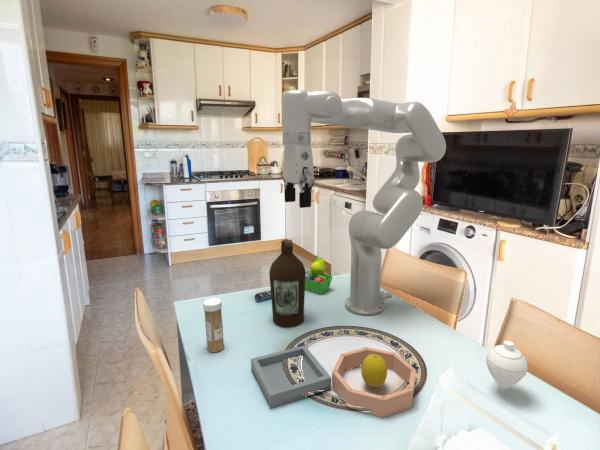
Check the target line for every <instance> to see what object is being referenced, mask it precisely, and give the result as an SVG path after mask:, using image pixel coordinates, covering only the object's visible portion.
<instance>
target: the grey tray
mask: <svg viewBox="0 0 600 450" xmlns="http://www.w3.org/2000/svg"><path fill="white" fill-rule="evenodd" d="M300 355H302V356H303V358H302V359H303V360H302V370H303V373H304V377H305V378H304V379H305V380H306V381H304V382H300V383H298V384H294V385H292V384H291V383H290V381H289V380H288V378H287V377H286V374H285V372H284V370H283V366H282V361H283V359H287V358H291V357H296V356H300ZM250 367H251V368H250V369H251V370H250V371H251V372H252V374H253V375H254V378H255V380H256V382H257V384H258V386H259V389H260V390H261V392H262V394H263V396H264V398H265V401H266V403H267V404H268V407H269V408H270V409H273V408H276V407H279V406H283V405H286V404H290V403H293V402H296V401H300V400H302V399H305V398H307V397H305V395H303V393H306V392H311V391H316V390H324V391H325V392H327V390H328V391H331V390H332V376H331V375H330V374H329V373H328V371H326V369H325V368H324V367H323V365H322V364H321V363H320V361H318V359H317V358H316V356H314V354H313V353H312V352H311V351H310V349H309V348H307V346H306V345H305V344H303V345H300V346H296V347H292V348H289V349H283V350H279V351H277V352H271V353H268V354H265V355H261V356H256V357H253V358H250ZM330 389H331V390H330Z"/></svg>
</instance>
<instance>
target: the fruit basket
mask: <svg viewBox="0 0 600 450" xmlns="http://www.w3.org/2000/svg"><path fill="white" fill-rule="evenodd" d="M325 272H326V261H325V260H324V258H323V257H316V258H315V260H314V262H312V263H311V264H310V270H305V290H306V291H308V292H309V291H310V292H312V293H314V294H318V295H322V294H323V293H326V292H327V291H329V289H330V286H331V282H332V280H333V276H332V275H328V274H327V273H326V274H325Z"/></svg>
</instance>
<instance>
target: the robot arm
mask: <svg viewBox="0 0 600 450" xmlns="http://www.w3.org/2000/svg"><path fill="white" fill-rule="evenodd" d="M281 121H282V122H281V127H282V129H281V130H282V133H281V134H282V137H281V138H282V147H283V164H282V165H283V166H282V168H283V169H282V170H283V171H282V177H283V179H282V181H283V188H284V190H283V191H284V193H283V194H284V202H285V203H291V202H293V203H294V202H296V187H295V185H298V188H299V190H300V192H299V197H298V200H299V204H298V205H299V208H301V209H304V208H311V207H312V192H313V189H312V188H313V186H314V180H315V176H314V173H315V170H314V158H313V150H312V123H313V124H319V125H321V124H322V125H328V126H329V125H330V126H336V127H337V126H338V127H345V128H352V129H362V130H370V131H375V132H376V131H377V132H384V133H390V134H391V133H392V134H404V135H402V136H400V137H399V138H398V140H397V142H396V144H395V159H396V160H395V161H396V162H395V163H396V165H395V169H394V171H393V172H392V174H391V175H390V177H389V178H388V179H387V180H386V181H385V183H383V185H382V186H381V187H380V189H379V190H378V191H377V193H375V195H374V197H373V199H372V207H373V208H374V210H375V211H376V212H374V211H371V210H367V209H366V210H359V211H357V212H355V213H353V215H352V216H351V217H350V220H349V221H348V235H349V239H350V240H349V241H350V288H349V291H350V293H349V297H348V298H347V299H346V300H345V302H344V303H345V304H344V306H345V308H346V310H348V311H349V312H351V313H353V314H356V315H362V316H373V315H377V314H380V313H382V312H384V310H385V302H384V301H385V299H392V298H393V293H392V292H391V291H389V292H385V291H384V290H381V285H382V284H381V283H382V282H381V281H382V280H381V279H382V278H381V277H382V259H383V258H382V253H383V252H382V250H389V249H391V248H394V247H395V246H396V245H397V244H398V243H400V241H401V240H402V238H403V237H404V236H405V235H406V233H407V232H408V231H409V229H410V228H411V227H412V226H413V225H414V224H415V222H416V221H417V220H418V218H419V216H420V215H421V212H422V210H423V202H424V201H423V198H422V194H420V193H419V192H418V191H417V190H415V189H416V188H417V187H418V185H419V183H420V179H421V178H420V177H421V176H420V175H421V174H420V168H419V163H428V164H429V163H436V162H438V161H440V160H441V159H442V158H443V157H444V156H445V154H446V150H447V144H446V143H447V142H446V139H445V137H444V135H443V133H442V131H441V130H440V129H441V128H440V127H439V126H438V124H437V122H436V120H435V119H434V117H433V115H432V113H431V112H430V111H429V110H428V108H427V107H426V106H425V105H424V104H423V103H422V102H419V101H411V102H403V103H401V102H400V103H397V102H392V101H387V100H380V99H375V98H372V97H355V98H344V99H343V98H341V96H340V95H339V94H338V93H337V92H335V91H333V90H329V89H325V90H317V91H314V90H313V91H308V90H302V89H293V90H286V91H284V92H283V93H282V95H281Z"/></svg>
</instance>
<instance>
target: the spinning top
mask: <svg viewBox="0 0 600 450" xmlns="http://www.w3.org/2000/svg"><path fill="white" fill-rule="evenodd" d="M485 364H486V367H487V369H488V371H489V374H490V375H491V377H492V378H493V380H494V382H495V383H496V384H497V386H498V387H499V388H500V389H501V394H503V393H504V391H505V390H507V389H509V388H510V389H511V387H513V386H515V385H516V384H517V383H519V382H520V381H521V380H522V379H523V378H524V377H525V376H526V375H527V372H528V370H529V369H528V368H529V367H528V365H529V364H528V361H527V359H526V357H525V356H524V354H523V353H522V351H520V350H519V349H518V348H516V347H515V343H514V342H513V341H510V340H504V341H503V344H497V345H495V346H493V347H491V348H490V349H489V350H488V351H487V353H486V356H485Z"/></svg>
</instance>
